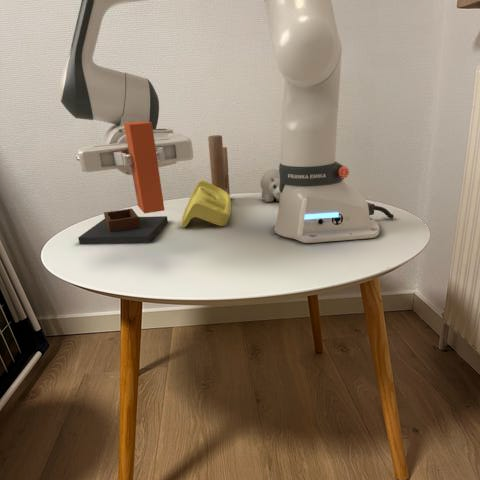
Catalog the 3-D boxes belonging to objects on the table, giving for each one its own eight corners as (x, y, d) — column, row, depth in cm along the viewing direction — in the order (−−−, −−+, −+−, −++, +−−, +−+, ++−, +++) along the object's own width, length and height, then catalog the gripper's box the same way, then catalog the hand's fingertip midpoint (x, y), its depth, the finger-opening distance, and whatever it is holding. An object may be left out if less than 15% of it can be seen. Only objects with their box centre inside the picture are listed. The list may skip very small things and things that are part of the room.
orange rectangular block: (138, 206, 79) (123, 122, 72) (157, 203, 80) (144, 120, 73) (144, 213, 74) (129, 124, 67) (164, 210, 75) (151, 122, 68)
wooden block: (230, 198, 126) (226, 132, 118) (226, 207, 117) (221, 136, 108) (217, 199, 127) (212, 132, 118) (212, 208, 117) (206, 137, 109)
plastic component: (230, 217, 99) (189, 200, 97) (219, 244, 103) (179, 229, 101) (230, 192, 116) (195, 177, 114) (220, 216, 119) (186, 202, 117)
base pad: (167, 222, 107) (165, 206, 105) (149, 242, 93) (146, 224, 92) (106, 223, 109) (103, 207, 107) (79, 244, 95) (75, 226, 93)
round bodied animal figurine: (265, 209, 114) (264, 175, 109) (259, 198, 124) (258, 167, 120) (292, 206, 114) (292, 173, 110) (284, 196, 124) (284, 166, 120)
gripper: (70, 138, 79) (75, 145, 67) (178, 128, 85) (199, 132, 74) (79, 174, 82) (84, 186, 70) (182, 161, 88) (203, 170, 77)
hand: (144, 158), depth 72 cm, fingers closed on orange rectangular block, 3 cm apart
